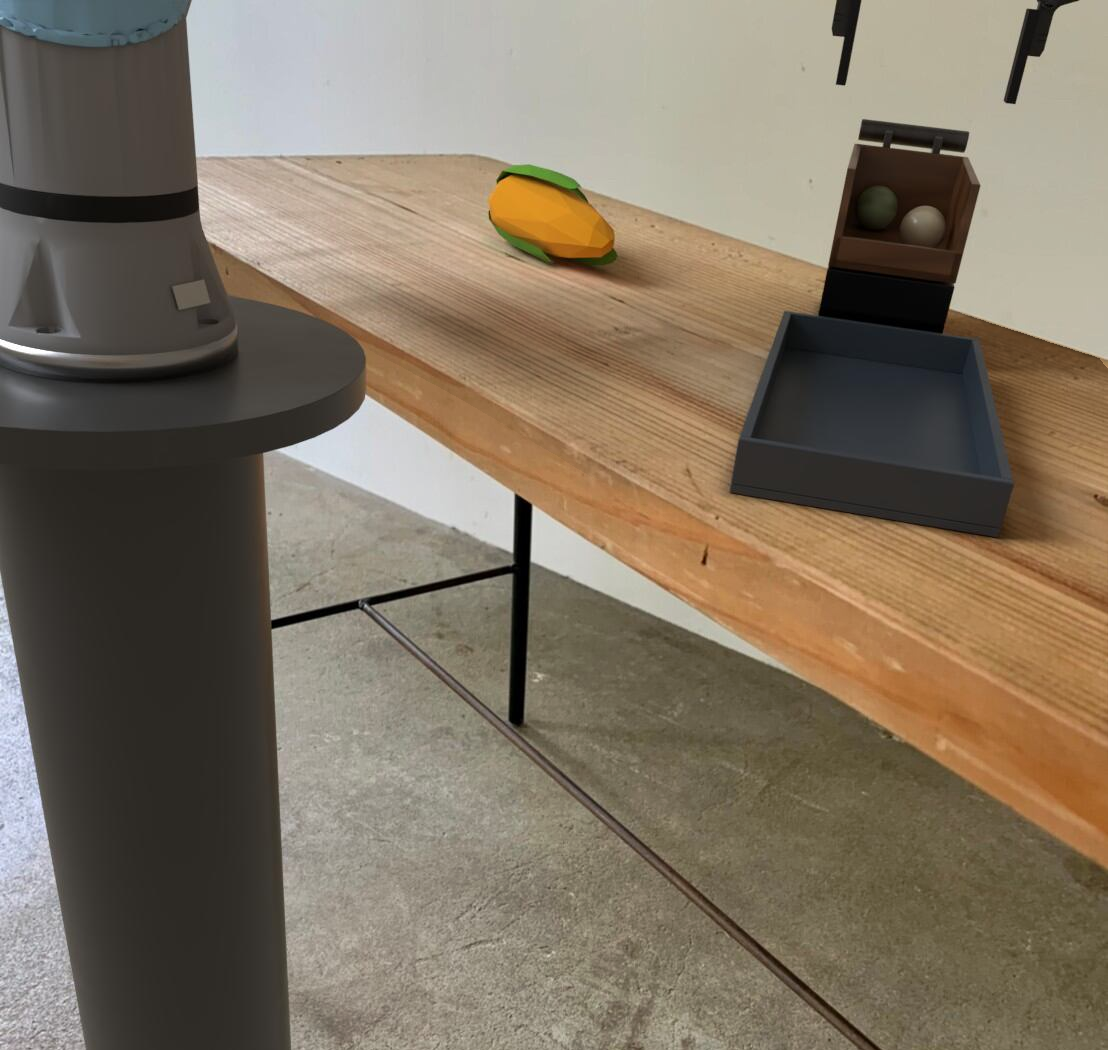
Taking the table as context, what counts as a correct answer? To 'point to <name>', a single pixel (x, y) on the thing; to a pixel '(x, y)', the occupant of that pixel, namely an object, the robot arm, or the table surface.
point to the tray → (876, 426)
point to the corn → (549, 216)
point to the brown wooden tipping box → (907, 200)
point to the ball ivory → (923, 227)
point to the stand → (886, 299)
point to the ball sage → (876, 208)
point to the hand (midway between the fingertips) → (924, 93)
